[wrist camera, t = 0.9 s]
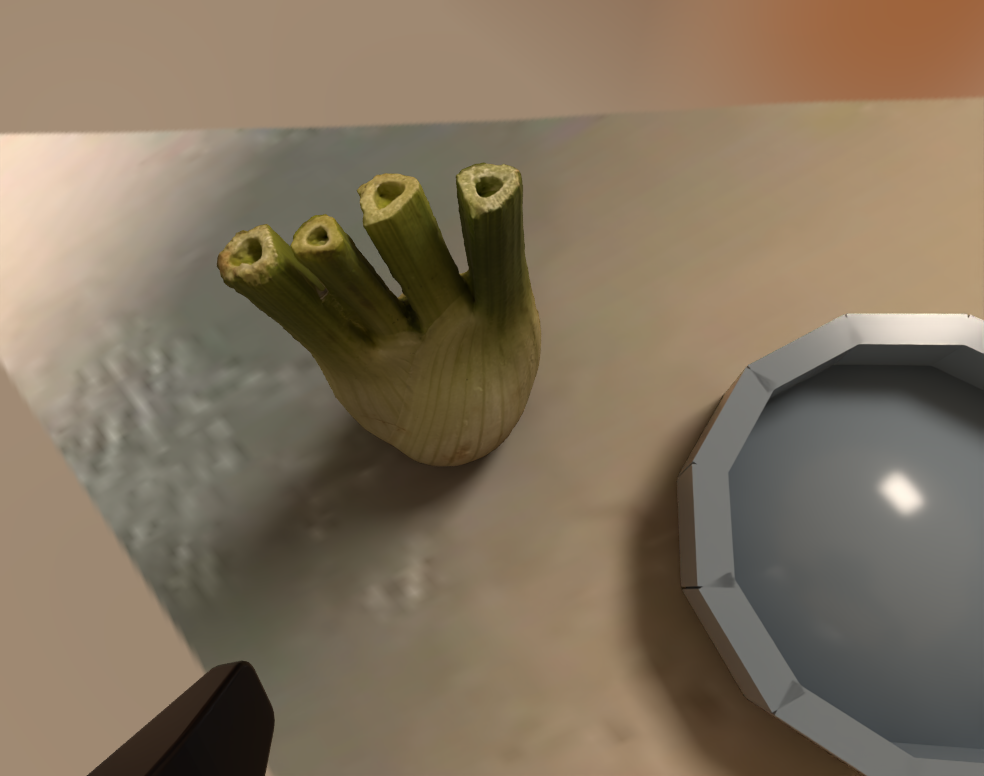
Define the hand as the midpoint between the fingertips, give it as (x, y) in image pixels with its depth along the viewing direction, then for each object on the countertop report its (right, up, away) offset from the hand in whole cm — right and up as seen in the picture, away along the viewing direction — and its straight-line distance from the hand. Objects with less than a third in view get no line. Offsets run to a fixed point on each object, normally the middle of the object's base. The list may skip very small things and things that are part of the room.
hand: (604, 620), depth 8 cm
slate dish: (+11, -2, +12) cm, 16 cm away
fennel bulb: (-3, +2, +15) cm, 15 cm away
